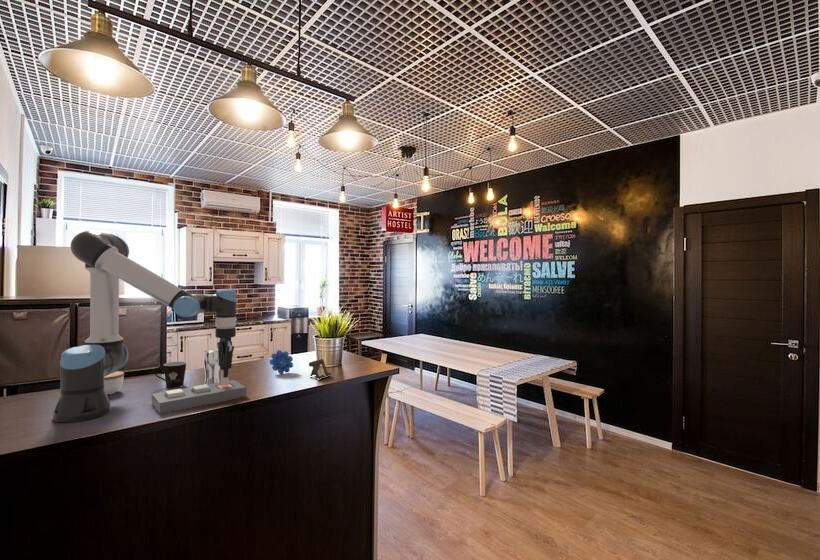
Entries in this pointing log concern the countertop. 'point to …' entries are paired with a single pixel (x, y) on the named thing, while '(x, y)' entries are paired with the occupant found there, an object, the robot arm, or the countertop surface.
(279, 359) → the blue gear
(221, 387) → the terracotta key
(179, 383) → the coffee mug
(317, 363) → the portable electronic device stand
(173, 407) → the keypad
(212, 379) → the beer glass
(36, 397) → the countertop surface
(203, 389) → the sage key
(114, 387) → the lidded jar
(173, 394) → the cream key
